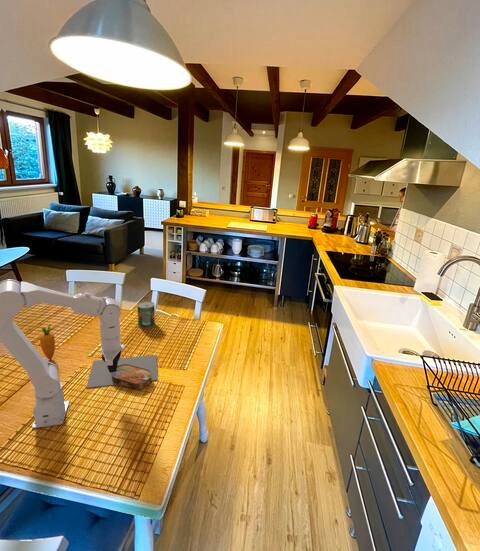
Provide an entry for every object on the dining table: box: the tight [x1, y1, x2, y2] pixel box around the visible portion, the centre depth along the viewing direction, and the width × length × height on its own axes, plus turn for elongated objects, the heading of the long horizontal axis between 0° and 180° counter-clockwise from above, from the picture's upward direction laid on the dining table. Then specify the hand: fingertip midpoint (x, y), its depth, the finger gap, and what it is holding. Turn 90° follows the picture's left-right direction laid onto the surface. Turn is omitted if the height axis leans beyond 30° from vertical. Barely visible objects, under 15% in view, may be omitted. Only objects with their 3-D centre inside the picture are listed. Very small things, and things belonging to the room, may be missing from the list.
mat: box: [86, 354, 159, 389], centre depth 118 cm, size 16×24×1 cm, turn 106°
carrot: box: [39, 324, 56, 360], centre depth 119 cm, size 5×5×15 cm
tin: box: [111, 364, 152, 390], centre depth 113 cm, size 15×3×8 cm
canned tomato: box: [136, 300, 156, 330], centre depth 150 cm, size 8×8×11 cm
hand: (113, 371), depth 103 cm, fingers closed
